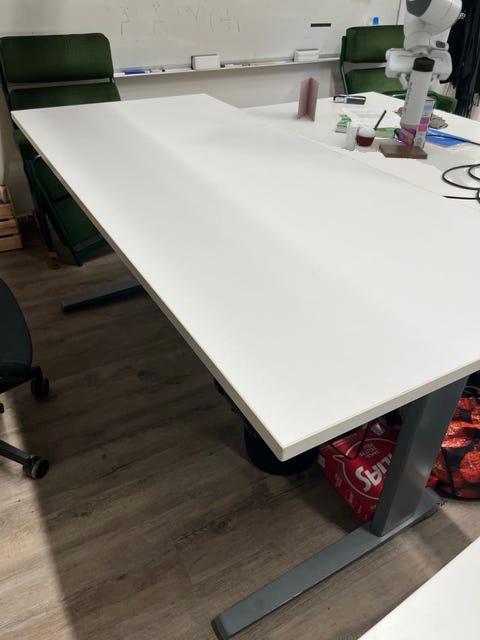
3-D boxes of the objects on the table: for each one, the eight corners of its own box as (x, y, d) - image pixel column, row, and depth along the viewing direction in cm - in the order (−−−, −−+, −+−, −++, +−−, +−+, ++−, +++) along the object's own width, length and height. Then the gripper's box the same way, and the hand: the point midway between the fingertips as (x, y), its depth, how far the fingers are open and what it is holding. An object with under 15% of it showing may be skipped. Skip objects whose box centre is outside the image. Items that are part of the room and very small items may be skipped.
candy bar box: (424, 149, 169) (437, 100, 159) (411, 150, 168) (423, 100, 158) (409, 139, 178) (421, 92, 168) (397, 140, 177) (408, 92, 167)
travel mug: (418, 124, 161) (435, 57, 148) (418, 129, 155) (436, 60, 143) (399, 122, 162) (414, 55, 149) (399, 127, 157) (414, 59, 144)
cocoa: (350, 146, 169) (356, 110, 162) (353, 141, 174) (360, 106, 167) (377, 150, 167) (384, 114, 159) (380, 145, 171) (387, 109, 164)
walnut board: (417, 150, 168) (419, 145, 167) (426, 159, 160) (427, 154, 159) (378, 148, 168) (379, 144, 167) (385, 157, 160) (386, 153, 159)
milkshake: (338, 149, 165) (343, 119, 159) (348, 146, 168) (353, 116, 162) (349, 153, 163) (355, 122, 157) (358, 150, 166) (364, 119, 160)
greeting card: (304, 115, 201) (308, 76, 192) (321, 118, 199) (326, 78, 190) (294, 122, 193) (298, 81, 184) (312, 125, 190) (317, 84, 181)
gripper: (388, 41, 150) (388, 81, 148) (453, 44, 150) (454, 84, 148) (382, 55, 157) (382, 93, 155) (445, 57, 156) (445, 96, 154)
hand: (418, 89), depth 151 cm, fingers closed on travel mug, 6 cm apart
